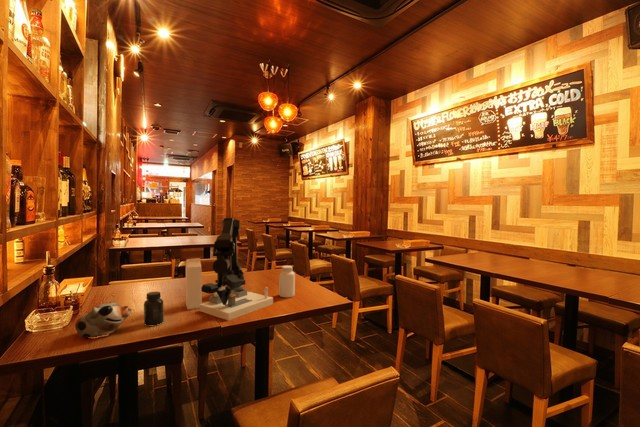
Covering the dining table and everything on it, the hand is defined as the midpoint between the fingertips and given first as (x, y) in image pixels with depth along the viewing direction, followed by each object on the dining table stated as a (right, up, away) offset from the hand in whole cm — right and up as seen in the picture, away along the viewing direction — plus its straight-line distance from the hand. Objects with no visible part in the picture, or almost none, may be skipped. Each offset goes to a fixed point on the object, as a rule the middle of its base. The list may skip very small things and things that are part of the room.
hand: (224, 304), depth 138 cm
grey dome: (+2, +2, +18) cm, 18 cm away
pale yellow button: (-5, +1, +8) cm, 10 cm away
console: (+3, -4, +10) cm, 11 cm away
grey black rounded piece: (-38, -5, -19) cm, 43 cm away
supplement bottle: (-25, -5, -9) cm, 27 cm away
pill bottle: (+24, -4, +28) cm, 37 cm away
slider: (+2, -1, +3) cm, 4 cm away
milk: (-17, -4, +11) cm, 20 cm away
